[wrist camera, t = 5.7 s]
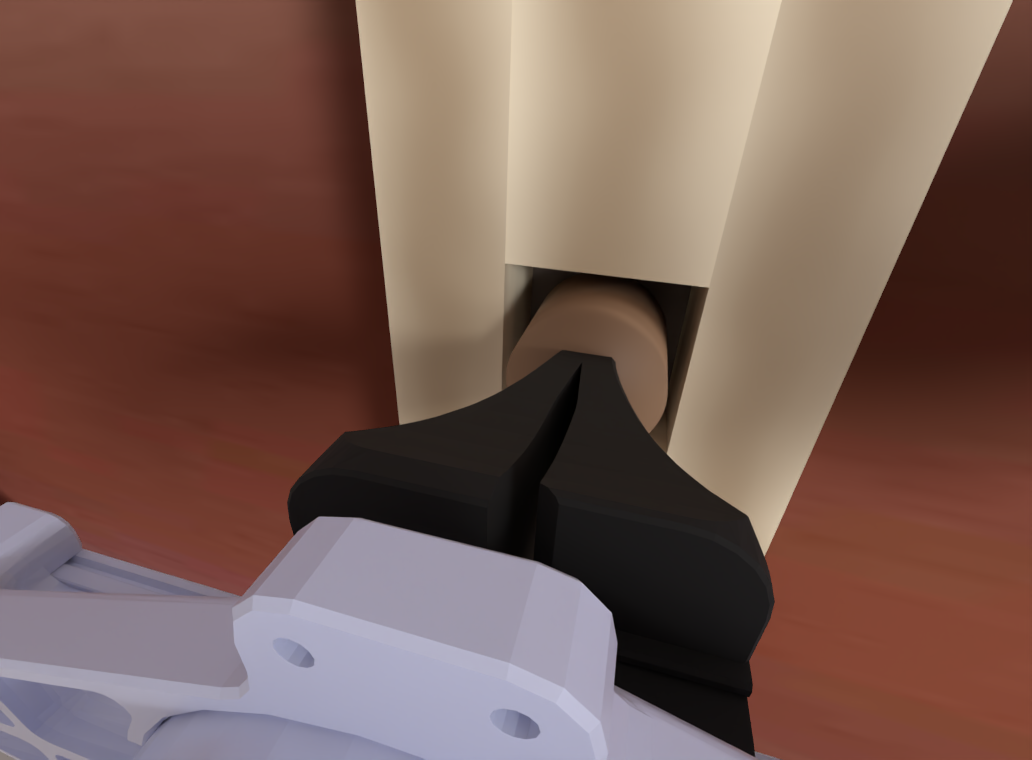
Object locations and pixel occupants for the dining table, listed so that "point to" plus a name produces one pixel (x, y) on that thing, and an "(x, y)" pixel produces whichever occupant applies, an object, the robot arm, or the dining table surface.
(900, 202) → the board
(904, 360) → the dining table surface
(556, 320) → the walnut peg
